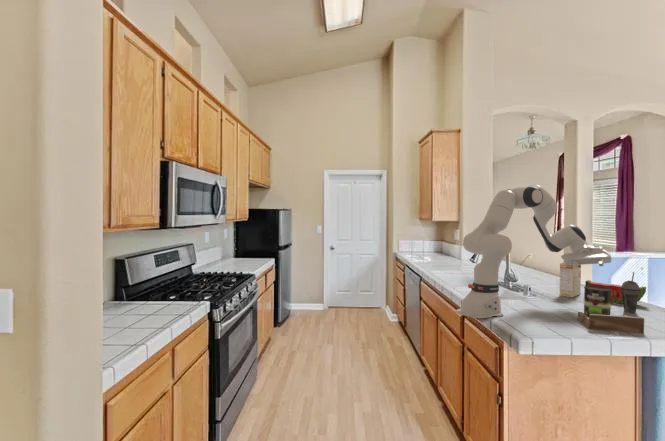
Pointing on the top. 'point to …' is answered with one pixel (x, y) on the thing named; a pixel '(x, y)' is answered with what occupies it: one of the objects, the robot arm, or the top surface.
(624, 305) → the beverage cup
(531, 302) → the top surface
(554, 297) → the top surface
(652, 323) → the top surface
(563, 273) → the coffeecake box
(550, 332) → the top surface
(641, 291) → the fruit slice
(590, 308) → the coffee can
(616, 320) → the box
